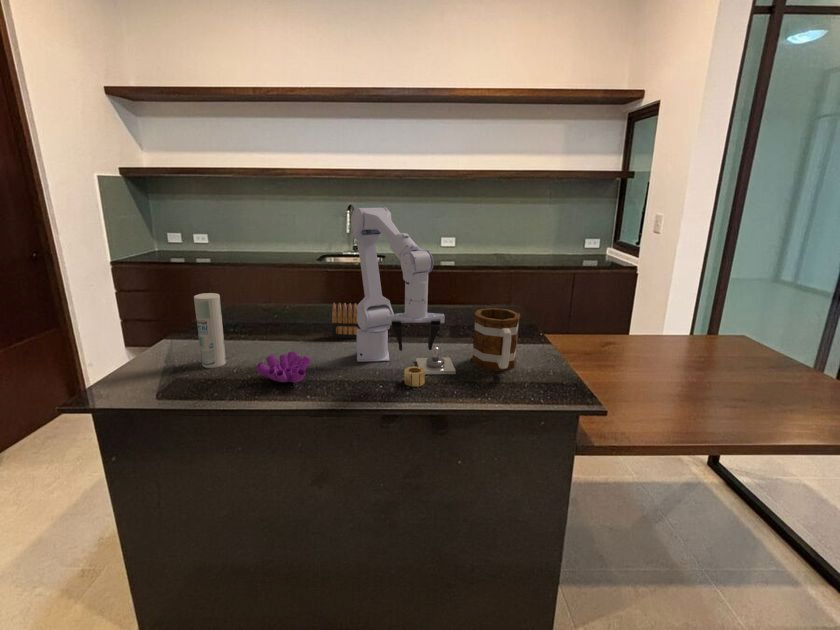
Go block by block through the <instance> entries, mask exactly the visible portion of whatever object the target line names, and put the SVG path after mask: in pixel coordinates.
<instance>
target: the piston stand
mask: <svg viewBox="0 0 840 630" xmlns="http://www.w3.org/2000/svg"><path fill="white" fill-rule="evenodd" d="M431 354H432V355H431V357H430V356H429V357H416V360H415V361H416V366H417V367H421V368H424V370H425V376H426V375H427V376H428V375H456V374H457V372H456V368H455V366H454V364H453V362H452V359H451V357H445V356H444V357H440V349H439V347H436V346H435V347H432V350H431Z"/></svg>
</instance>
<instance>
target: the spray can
mask: <svg viewBox="0 0 840 630" xmlns="http://www.w3.org/2000/svg"><path fill="white" fill-rule="evenodd" d="M193 302H194V310H195V318H196V326H197V333H198V335H197V336H198V342H199V348H200V349H199V352H200V357H201V365H202V367H204V368H208V369H214V368H219V367H222V366H224V365H225V364H226V361H227V359H226V350H225V349H226V348H225V340H224V339H225V337H224V328H223V316H222V308H221V307H222V306H221V296H220V294H219V293H215V292H207V293H206V292H204V293H199V294H196V295H193Z"/></svg>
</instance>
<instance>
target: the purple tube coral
mask: <svg viewBox="0 0 840 630" xmlns="http://www.w3.org/2000/svg"><path fill="white" fill-rule="evenodd" d="M287 352H288V353H287V354H280V355H279V361H278V360H277V358H276V356H275V355H274V354H271V355H269V356H266V357H265V360H266V363H267V365H268V366H267V365H266V364H264V363H263V362H259V363H257V365H256V366H255V368H254V369H255V371H256V372H257V373H258V374H259V375H261V376H263V377H265V378H267V379H268V380H272V381H275V382H277V383H299V382H300V381H303V379H304V378H305V376H306V373H307V372H306V369H307V368H308V367H309V365H310V363H311V360H312V358H311V357H309V356H307V355H304V356H301V355H298V354H297V352H296V351H287Z"/></svg>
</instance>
